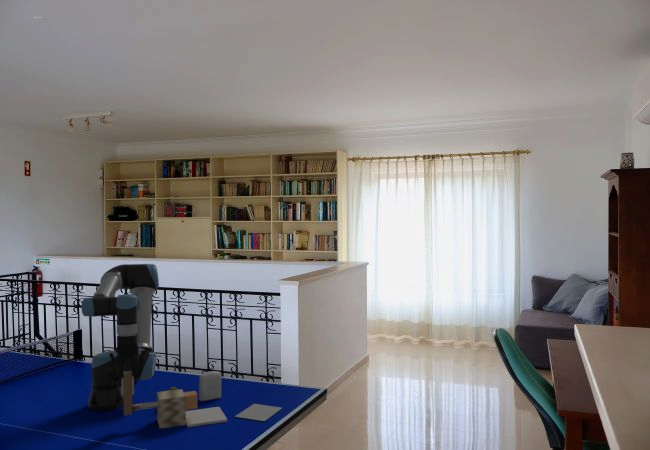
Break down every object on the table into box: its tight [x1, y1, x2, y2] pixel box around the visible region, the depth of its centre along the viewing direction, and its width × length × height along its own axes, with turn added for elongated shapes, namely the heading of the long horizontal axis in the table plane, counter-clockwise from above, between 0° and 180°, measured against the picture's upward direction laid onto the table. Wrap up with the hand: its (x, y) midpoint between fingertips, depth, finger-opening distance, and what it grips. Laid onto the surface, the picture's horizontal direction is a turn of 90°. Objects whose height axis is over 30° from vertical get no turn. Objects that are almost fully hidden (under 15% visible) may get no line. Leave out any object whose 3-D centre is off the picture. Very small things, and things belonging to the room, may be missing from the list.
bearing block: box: [156, 388, 187, 429], centre depth 220 cm, size 10×10×11 cm
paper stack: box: [234, 403, 283, 422], centre depth 237 cm, size 23×25×1 cm
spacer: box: [183, 390, 199, 411], centre depth 223 cm, size 5×5×6 cm
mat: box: [185, 406, 228, 428], centre depth 226 cm, size 16×16×1 cm
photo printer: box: [198, 370, 222, 402], centre depth 249 cm, size 10×4×12 cm, turn 123°
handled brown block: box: [123, 371, 159, 416], centre depth 218 cm, size 26×4×16 cm, turn 112°
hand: (127, 394), depth 214 cm, fingers closed on handled brown block, 3 cm apart
